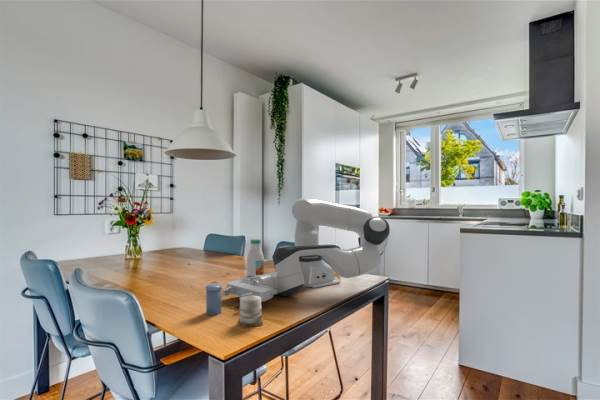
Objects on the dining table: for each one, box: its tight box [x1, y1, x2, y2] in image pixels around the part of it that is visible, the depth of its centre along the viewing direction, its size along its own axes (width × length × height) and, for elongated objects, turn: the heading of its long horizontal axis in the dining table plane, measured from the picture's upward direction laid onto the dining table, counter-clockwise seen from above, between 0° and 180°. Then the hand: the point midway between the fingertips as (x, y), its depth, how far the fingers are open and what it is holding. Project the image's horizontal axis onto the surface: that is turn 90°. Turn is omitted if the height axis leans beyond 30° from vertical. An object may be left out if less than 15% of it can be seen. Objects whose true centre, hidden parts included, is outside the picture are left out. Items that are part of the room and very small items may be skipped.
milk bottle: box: [246, 238, 265, 276], centre depth 140 cm, size 8×8×20 cm
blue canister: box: [205, 283, 223, 316], centre depth 102 cm, size 5×5×9 cm
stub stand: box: [238, 295, 264, 329], centre depth 93 cm, size 7×7×7 cm
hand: (231, 295), depth 107 cm, fingers open, 8 cm apart
